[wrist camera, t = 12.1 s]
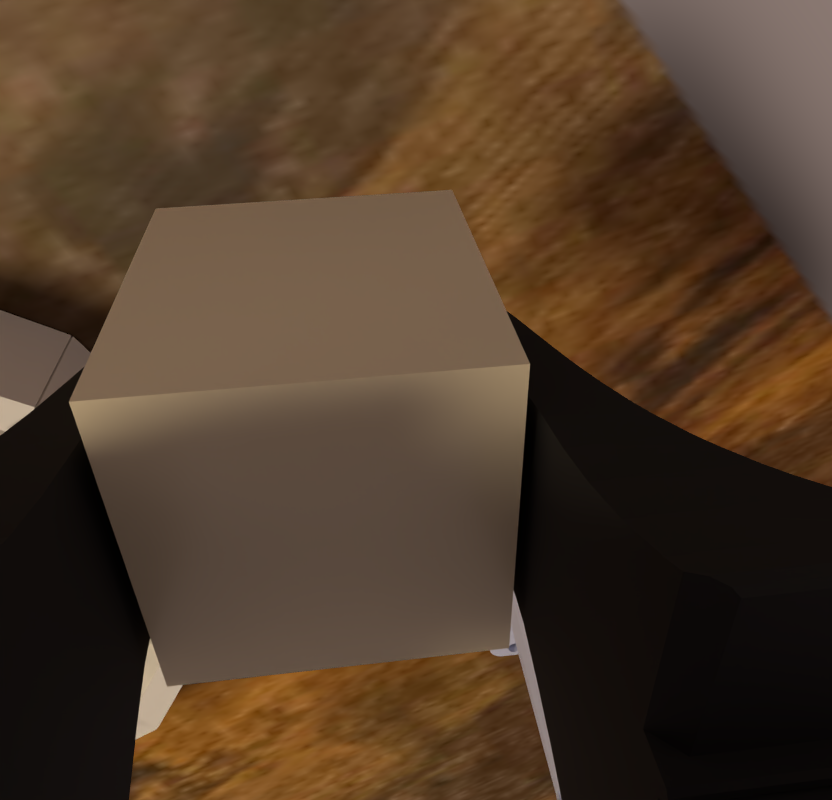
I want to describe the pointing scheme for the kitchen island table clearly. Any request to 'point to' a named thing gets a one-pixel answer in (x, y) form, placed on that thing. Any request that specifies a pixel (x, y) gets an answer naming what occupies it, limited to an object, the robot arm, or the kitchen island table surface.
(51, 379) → the bowl
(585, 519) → the robot arm
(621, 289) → the kitchen island table surface
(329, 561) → the cream rectangular block
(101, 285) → the kitchen island table surface
